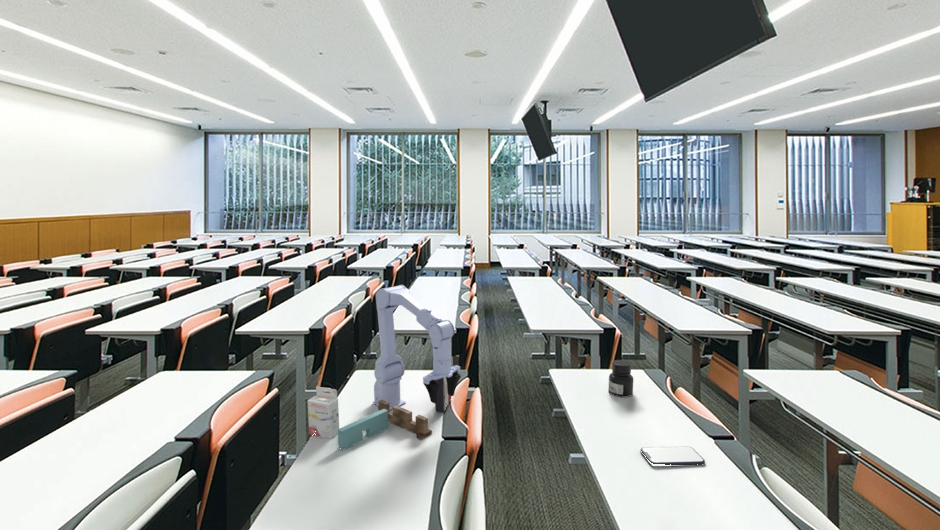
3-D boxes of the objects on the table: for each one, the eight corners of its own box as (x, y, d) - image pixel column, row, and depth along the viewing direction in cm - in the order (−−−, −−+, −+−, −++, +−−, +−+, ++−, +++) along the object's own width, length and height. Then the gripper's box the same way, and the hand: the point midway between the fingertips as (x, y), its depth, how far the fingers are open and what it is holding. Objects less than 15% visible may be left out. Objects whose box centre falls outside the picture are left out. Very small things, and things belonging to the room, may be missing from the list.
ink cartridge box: (308, 435, 157) (305, 391, 155) (317, 428, 162) (315, 385, 159) (331, 439, 154) (328, 395, 152) (340, 432, 159) (338, 388, 157)
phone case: (690, 450, 148) (638, 451, 147) (691, 445, 147) (639, 446, 146) (706, 467, 139) (651, 468, 138) (707, 462, 139) (652, 463, 138)
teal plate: (342, 450, 148) (341, 431, 147) (338, 447, 149) (337, 429, 148) (388, 427, 162) (387, 410, 161) (384, 425, 163) (383, 408, 162)
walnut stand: (374, 419, 167) (374, 402, 166) (386, 414, 171) (385, 398, 170) (420, 440, 153) (420, 421, 153) (431, 433, 157) (431, 416, 156)
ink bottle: (603, 389, 192) (604, 359, 190) (624, 386, 194) (625, 357, 192) (616, 399, 183) (618, 368, 181) (637, 396, 185) (639, 366, 183)
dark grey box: (445, 413, 172) (444, 372, 170) (433, 412, 173) (432, 371, 170) (452, 400, 182) (452, 361, 180) (441, 399, 183) (440, 360, 181)
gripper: (433, 367, 150) (434, 409, 152) (466, 355, 160) (466, 395, 162) (418, 361, 155) (419, 402, 157) (451, 351, 165) (452, 389, 167)
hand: (442, 398), depth 160 cm, fingers open, 7 cm apart
